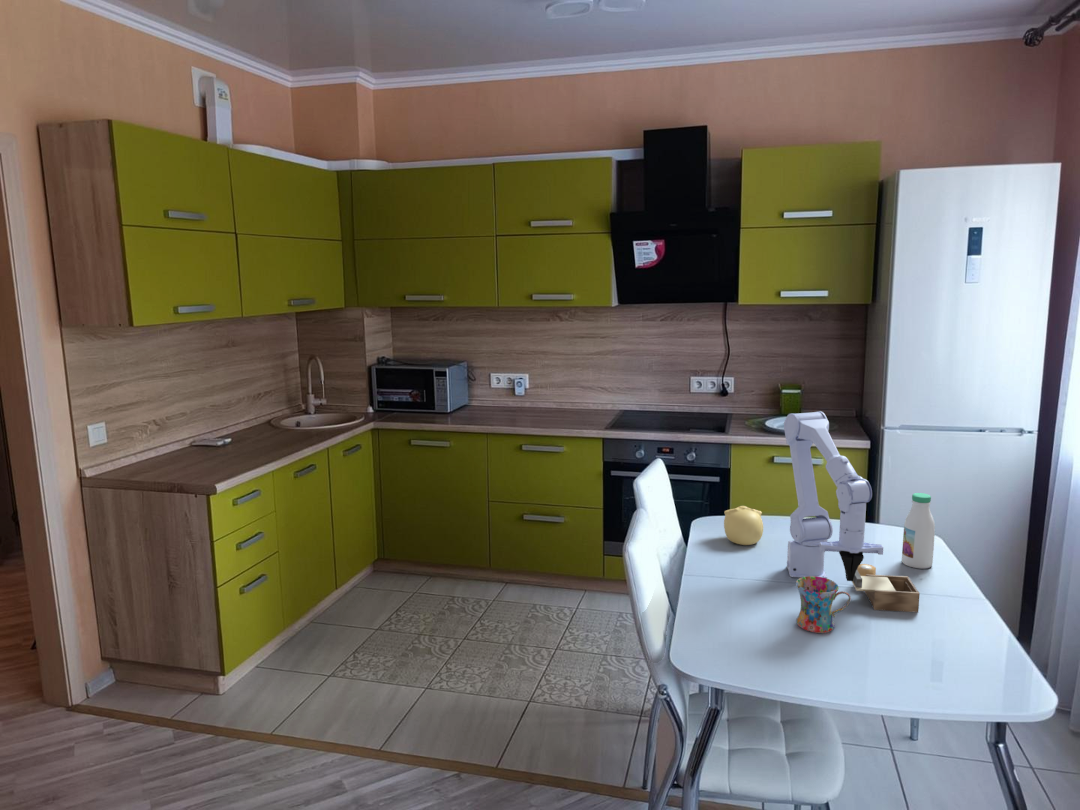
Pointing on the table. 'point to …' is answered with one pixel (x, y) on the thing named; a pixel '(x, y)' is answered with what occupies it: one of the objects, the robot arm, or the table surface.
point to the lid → (871, 583)
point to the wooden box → (895, 595)
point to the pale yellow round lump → (743, 525)
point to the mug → (817, 603)
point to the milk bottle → (919, 533)
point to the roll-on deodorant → (866, 569)
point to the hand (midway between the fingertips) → (849, 579)
